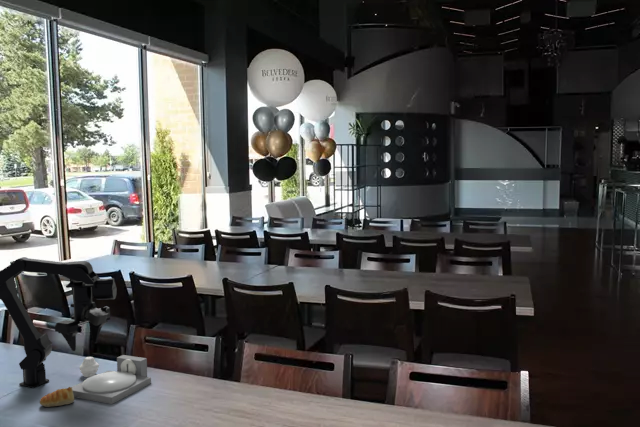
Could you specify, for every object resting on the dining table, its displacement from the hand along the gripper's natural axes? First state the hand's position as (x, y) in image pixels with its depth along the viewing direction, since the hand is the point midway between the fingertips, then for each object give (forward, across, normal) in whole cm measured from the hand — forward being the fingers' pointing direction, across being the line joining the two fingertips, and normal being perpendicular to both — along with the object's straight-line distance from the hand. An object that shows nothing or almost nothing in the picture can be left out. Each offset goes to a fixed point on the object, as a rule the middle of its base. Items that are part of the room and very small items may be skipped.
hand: (84, 346), depth 187 cm
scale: (+12, -2, -12) cm, 17 cm away
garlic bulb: (+12, +4, +3) cm, 13 cm away
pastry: (+13, -17, -3) cm, 21 cm away
